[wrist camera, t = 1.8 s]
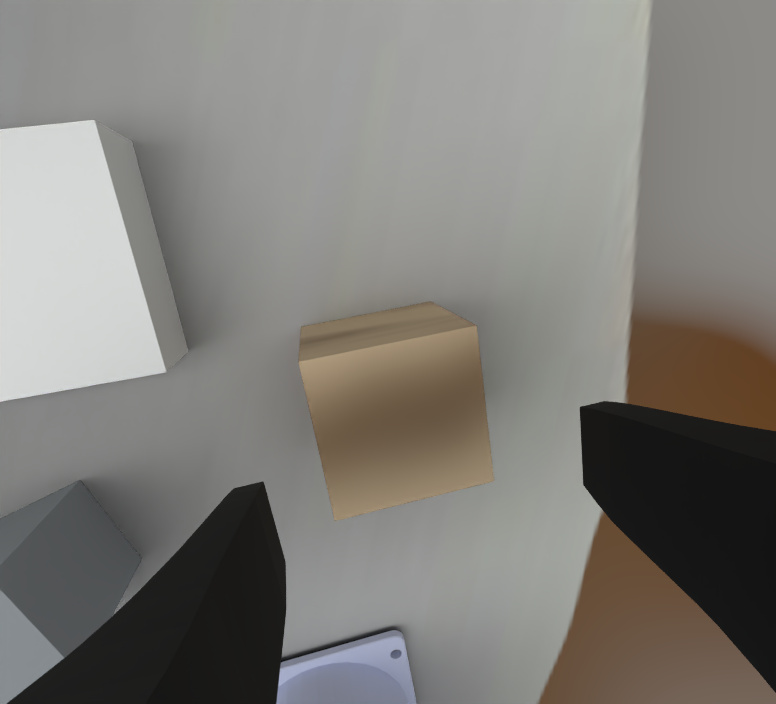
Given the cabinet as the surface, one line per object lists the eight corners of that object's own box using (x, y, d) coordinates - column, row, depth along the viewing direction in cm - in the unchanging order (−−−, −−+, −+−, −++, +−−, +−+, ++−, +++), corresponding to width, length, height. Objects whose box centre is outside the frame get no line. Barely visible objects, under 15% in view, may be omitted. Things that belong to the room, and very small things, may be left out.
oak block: (446, 418, 19) (494, 481, 14) (327, 446, 18) (335, 521, 13) (429, 301, 17) (476, 325, 13) (301, 326, 17) (298, 362, 12)
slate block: (142, 557, 18) (81, 675, 13) (47, 605, 18) (-49, 742, 13) (80, 479, 17) (-11, 577, 12) (-22, 529, 16) (-156, 648, 12)
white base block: (190, 349, 16) (166, 372, 14) (-19, 384, 15) (-93, 418, 13) (136, 143, 15) (94, 120, 12) (-106, 169, 14) (-216, 151, 11)
